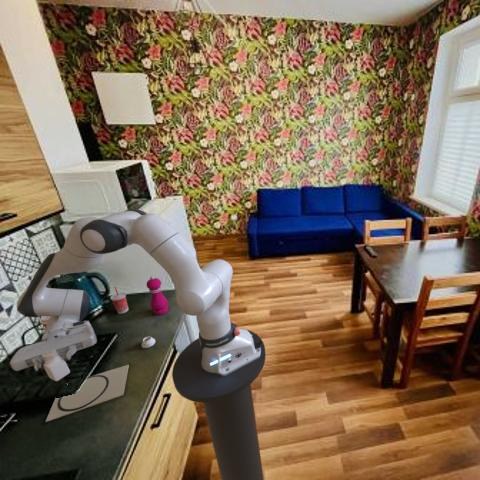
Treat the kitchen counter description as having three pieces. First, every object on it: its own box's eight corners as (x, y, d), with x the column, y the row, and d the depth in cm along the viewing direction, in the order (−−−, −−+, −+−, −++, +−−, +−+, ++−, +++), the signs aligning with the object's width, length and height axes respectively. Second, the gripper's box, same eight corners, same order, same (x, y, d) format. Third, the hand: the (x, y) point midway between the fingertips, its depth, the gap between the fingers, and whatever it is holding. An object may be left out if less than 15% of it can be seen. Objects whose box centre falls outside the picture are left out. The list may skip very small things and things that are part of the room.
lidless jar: (153, 338, 115) (140, 344, 112) (152, 332, 114) (138, 338, 111) (157, 344, 112) (143, 350, 109) (155, 338, 111) (141, 345, 108)
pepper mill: (158, 317, 128) (148, 281, 120) (150, 312, 131) (139, 277, 124) (172, 309, 134) (163, 275, 126) (164, 305, 137) (155, 271, 129)
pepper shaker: (64, 368, 87) (53, 346, 84) (71, 372, 86) (60, 350, 82) (49, 378, 84) (36, 355, 80) (56, 382, 83) (44, 359, 79)
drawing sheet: (129, 365, 102) (128, 364, 102) (123, 395, 90) (123, 393, 90) (61, 386, 93) (60, 385, 93) (45, 422, 82) (45, 421, 82)
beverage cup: (121, 306, 136) (113, 283, 130) (133, 307, 135) (125, 283, 130) (112, 314, 130) (103, 290, 125) (124, 314, 130) (116, 290, 124)
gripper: (13, 342, 86) (-1, 372, 75) (93, 318, 97) (91, 341, 86) (21, 357, 88) (9, 388, 78) (99, 332, 99) (97, 356, 89)
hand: (52, 363), depth 82 cm, fingers closed on pepper shaker, 5 cm apart
